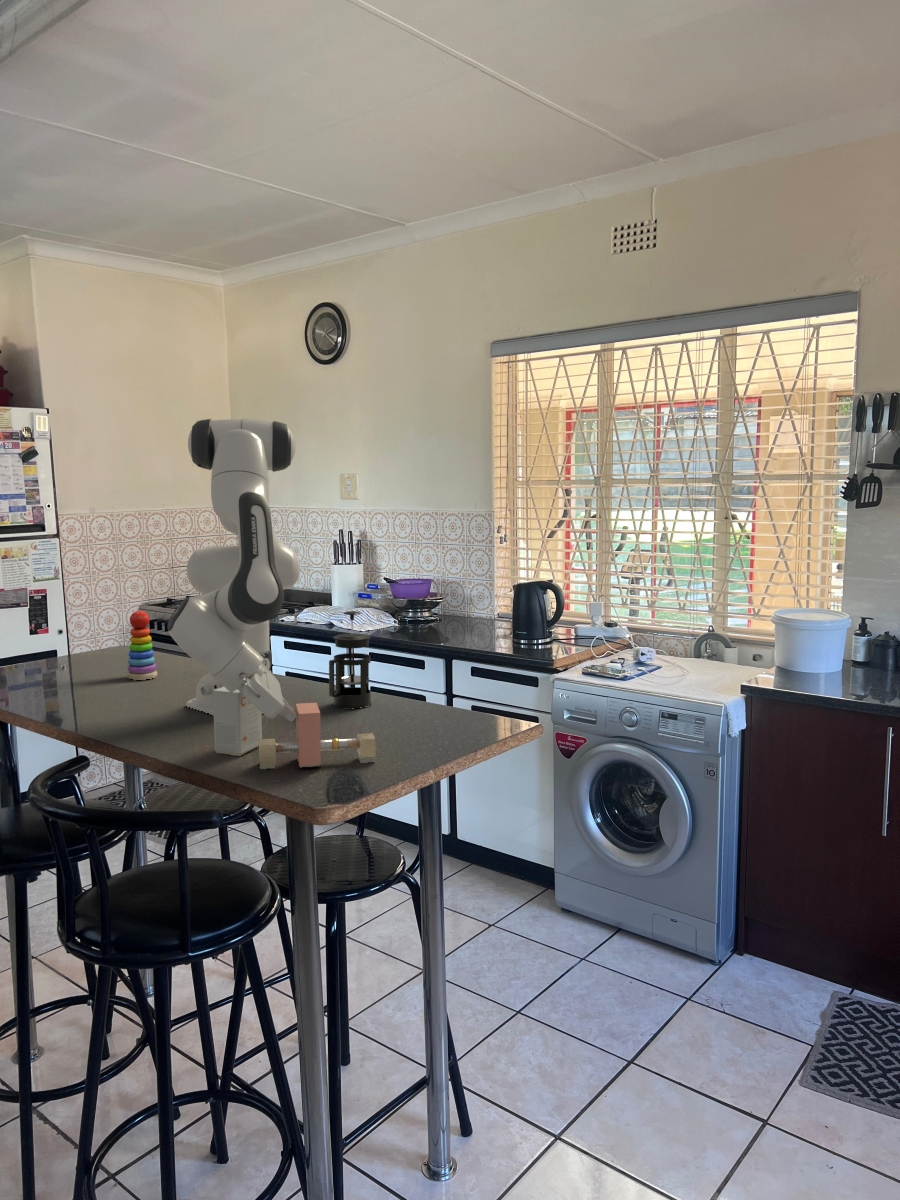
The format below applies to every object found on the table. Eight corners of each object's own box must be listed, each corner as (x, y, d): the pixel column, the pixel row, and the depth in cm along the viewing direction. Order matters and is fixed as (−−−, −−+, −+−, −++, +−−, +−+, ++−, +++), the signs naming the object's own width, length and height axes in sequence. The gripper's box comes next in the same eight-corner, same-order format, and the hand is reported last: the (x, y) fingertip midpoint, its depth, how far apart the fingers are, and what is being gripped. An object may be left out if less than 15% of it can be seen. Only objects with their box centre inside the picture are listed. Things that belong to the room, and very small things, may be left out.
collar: (299, 768, 170) (298, 713, 168) (296, 755, 177) (295, 703, 176) (320, 766, 170) (320, 712, 169) (317, 754, 178) (316, 702, 177)
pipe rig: (259, 769, 170) (259, 745, 169) (259, 763, 174) (258, 739, 173) (375, 762, 175) (375, 738, 174) (372, 756, 179) (372, 733, 178)
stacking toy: (125, 676, 249) (123, 609, 247) (155, 674, 253) (153, 608, 250) (128, 682, 242) (125, 613, 240) (159, 679, 246) (157, 611, 243)
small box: (236, 742, 187) (235, 681, 186) (263, 746, 185) (261, 684, 183) (213, 753, 180) (211, 689, 178) (240, 757, 178) (238, 692, 176)
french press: (357, 697, 227) (357, 607, 224) (381, 704, 221) (381, 611, 218) (319, 705, 219) (318, 611, 216) (343, 712, 213) (342, 616, 210)
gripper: (253, 668, 159) (309, 719, 162) (251, 647, 179) (302, 693, 182) (228, 694, 158) (285, 744, 162) (229, 670, 178) (279, 716, 182)
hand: (294, 717), depth 172 cm, fingers closed, pressing on collar
